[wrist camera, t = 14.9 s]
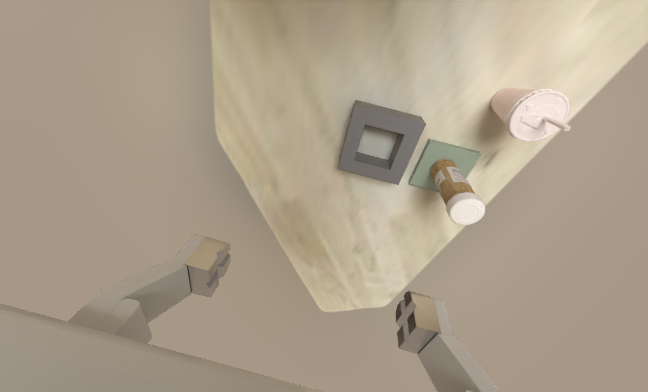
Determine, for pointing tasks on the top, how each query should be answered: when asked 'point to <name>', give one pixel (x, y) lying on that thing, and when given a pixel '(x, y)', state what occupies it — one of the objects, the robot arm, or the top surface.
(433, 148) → the rubber mat
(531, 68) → the top surface
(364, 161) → the socket block
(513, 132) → the smoothie
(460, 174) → the sprinkles bottle
